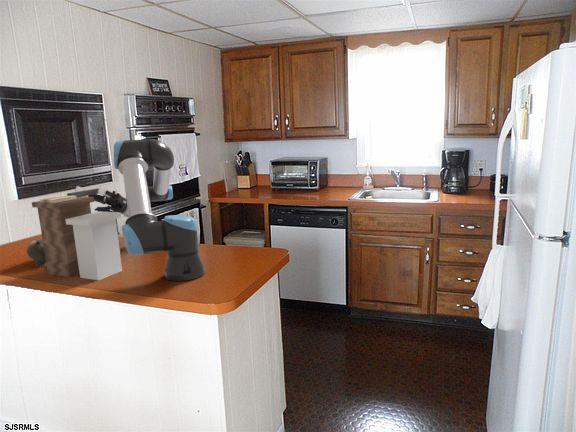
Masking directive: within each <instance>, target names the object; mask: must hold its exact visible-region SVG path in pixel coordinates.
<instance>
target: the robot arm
mask: <svg viewBox="0 0 576 432" xmlns="http://www.w3.org/2000/svg"><path fill="white" fill-rule="evenodd" d="M174 162H175V155H174V153H173V150H172V149H171V148H170V147H169V146H168V145H167V144H166V143H164V142H163V141H161V140H159V139H155V138H154V139H153V138H147V139H130V140H129V139H127V140H126V139H124V140H117V141H115V142H114V144H113V166H114V169H115V170H118V172H119V173H120V174H121V175H122V176H123V183H124V192H125V197H124V196H122V195H121V194H120V193H118V192H117V191H116V190H112V191H111V190H109V189H107V188H105V187H103V186H100V185H99V187H98V188H99V189H98V193H99V194H93V195H88V196H83V197H94V202H97V203H100V204H102V205H107V206H108V205H109V206H111V208H112V210H114V211H116V212H120V213H121V215H123V217H127V218H126V220H125V222H124V223H125V224H123V225H122V226H121V232H122V236H123V237H122V238H123V240H124V244H125V245H124V246H125V249H126V251H127V253H128V254H129V255H130V256H144V255H149V254H157V253H164V252H167V261H166V265H165V271H164V273H165V274H164V276H165V277H164V278H165V279H167V280H169V281H174V282H184V281H190V280H195V279H198V278H200V277H203V276H204V275H205V273H206V267H205V264H204V263H203V259H202V257H201V255H200V252H199V239H198V238H199V237H198V228H197V226H198V225H197V222H196V219H195V218H194V217H192V216H188V215H182V214H181V215H180V214H179V215H178V214H174V215H173V214H172V215H170V214H169V215H165V216H164V218H163V220H159V221H158V217H157V216H156V215H154V214H153V213H152V212H153V211H152V207H151V205H152V204H151V202H161V201H163V202H165V201H168V200H169V201H170V200H172V199H173V198H174V194H173V193H174V192H173V187H172V185H171V184H170V181H171V179H170V178H171V172H172V171H171V169H172V168H173V166H174V165H175V163H174ZM149 167H151V168H152V167H153V179H152V180H153V182H152V183H153V185H152V186H148V182H147V177H146V176H147V175H146V173H147V171H148V170H149ZM85 190H86V188H83V187H81V186H79V185H76V186H75V191H74V192H79V191H85ZM112 210H111V211H112Z"/></svg>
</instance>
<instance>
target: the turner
mask: <svg viewBox="0 0 576 432" xmlns="http://www.w3.org/2000/svg"><path fill="white" fill-rule="evenodd" d="M98 189H99V187H98V188H97V187H96V188H91V189H85V191H79V192H75V191H74V192H73V191H72V192H70V193H69V192H68V193H67V194H65V195H63V194H62V195H57V196H51V197H45V198H41V199H40V200H39V201H41V202H47V203H56V202H62V201H67V200H72V199H77V197H84V196H88V195H93V194H98V195H100V193H98Z"/></svg>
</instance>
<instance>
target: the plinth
mask: <svg viewBox="0 0 576 432" xmlns="http://www.w3.org/2000/svg"><path fill="white" fill-rule="evenodd" d="M94 202H95V201H94V197H84V196H83V197H77V199H72V200H67V201H62V202H56V203H47V202H41V201H40V200H38V201H32V202H31V208H36V209H37V213H38V219H39V224H40V230H41V231H40V233H41V238H42V239H41V240H43V246H44V252H45V258H46V271H47V274H48V275H51V276H57V277H64V278H72V277H75V276H78V275H80V272H79V265H78V258H77V252H76V245H75V238H74V231H73V225H68V224H66V220H65V219H69V218H73V217H77V216H81V215H86V214H90V213H92V209H91V203H94Z"/></svg>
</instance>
